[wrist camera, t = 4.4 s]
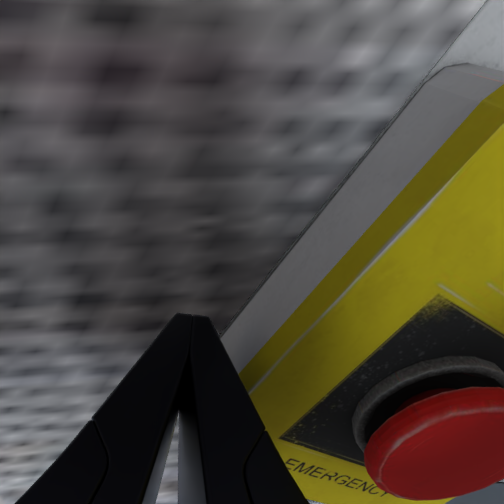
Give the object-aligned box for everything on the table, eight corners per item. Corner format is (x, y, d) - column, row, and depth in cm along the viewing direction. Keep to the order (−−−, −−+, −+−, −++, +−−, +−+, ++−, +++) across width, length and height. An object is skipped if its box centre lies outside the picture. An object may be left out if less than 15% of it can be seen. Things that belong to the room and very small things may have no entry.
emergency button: (136, 546, 8) (955, -245, 3) (163, 393, 12) (520, -67, 6) (394, 589, 11) (1035, 272, 6) (352, 456, 15) (709, 185, 9)
